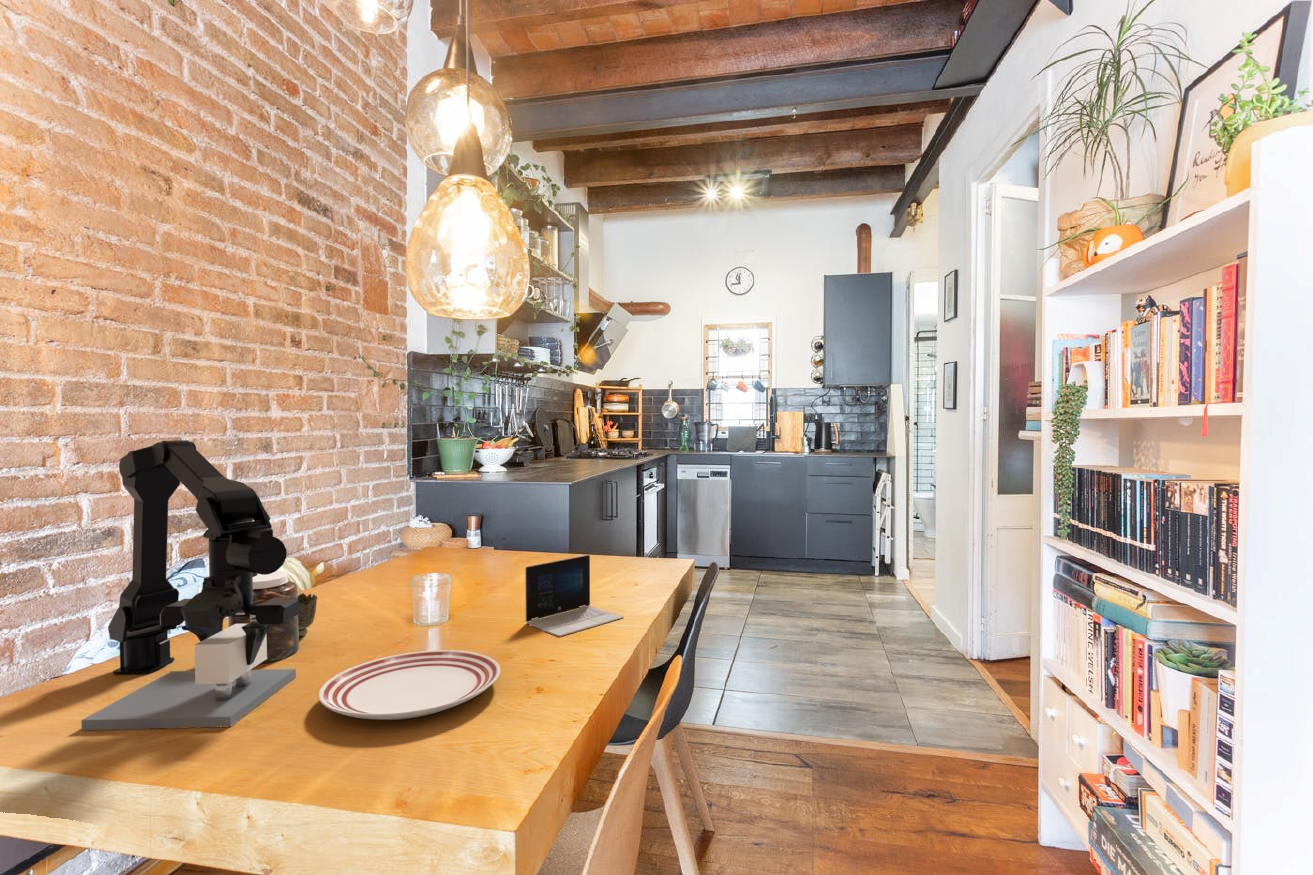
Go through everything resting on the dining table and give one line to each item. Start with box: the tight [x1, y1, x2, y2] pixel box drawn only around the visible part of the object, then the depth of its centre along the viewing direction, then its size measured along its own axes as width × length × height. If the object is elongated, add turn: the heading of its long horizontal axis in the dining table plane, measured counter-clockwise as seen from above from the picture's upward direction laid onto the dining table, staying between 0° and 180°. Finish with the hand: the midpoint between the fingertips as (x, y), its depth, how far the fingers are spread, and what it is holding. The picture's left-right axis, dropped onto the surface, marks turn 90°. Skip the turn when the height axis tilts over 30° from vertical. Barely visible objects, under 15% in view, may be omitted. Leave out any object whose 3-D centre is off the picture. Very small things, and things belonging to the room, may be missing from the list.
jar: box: [227, 570, 300, 665], centre depth 122 cm, size 12×12×15 cm
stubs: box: [215, 669, 252, 701], centre depth 101 cm, size 2×7×3 cm, turn 2°
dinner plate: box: [318, 649, 501, 721], centre depth 103 cm, size 27×27×3 cm
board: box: [80, 668, 297, 731], centre depth 101 cm, size 21×18×2 cm
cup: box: [298, 592, 318, 638], centre depth 132 cm, size 8×7×8 cm
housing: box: [194, 624, 267, 684], centre depth 101 cm, size 5×10×6 cm, turn 2°
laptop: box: [524, 554, 624, 638], centre depth 141 cm, size 18×12×13 cm
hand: (233, 664), depth 101 cm, fingers closed on housing, 5 cm apart
